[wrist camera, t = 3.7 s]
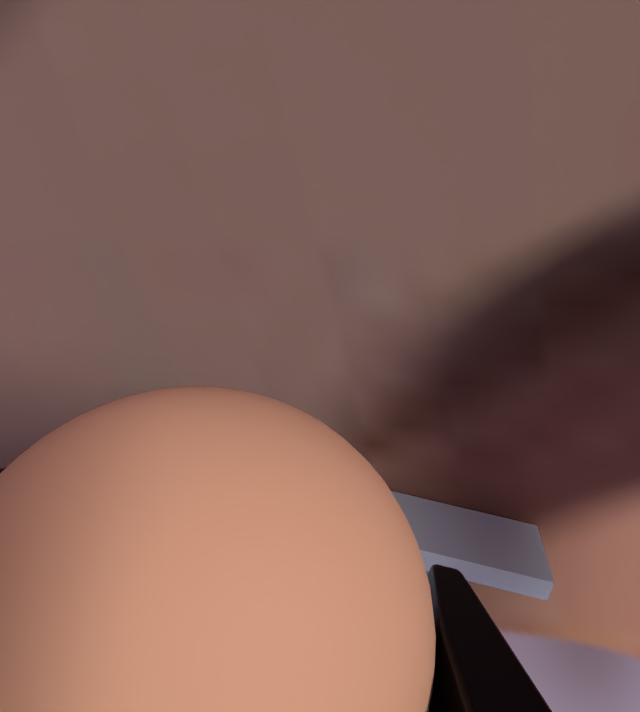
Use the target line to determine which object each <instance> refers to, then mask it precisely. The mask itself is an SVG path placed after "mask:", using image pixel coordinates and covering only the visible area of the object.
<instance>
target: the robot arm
mask: <svg viewBox="0 0 640 712" xmlns="http://www.w3.org/2000/svg"><path fill="white" fill-rule="evenodd" d="M4 469H5V468H3V469H0V473H1V472H2V471H3V470H4ZM427 577H428V581H429V584H430V590H431V598H432V606H433V615H434V624H435V634H436V645H435V668H434V682H433V692H432V697H431V702H430V707H429V712H552V711H551V709H550V708H549V706H548V705H547V703H546V702H545V700H544V699H543V697H542V695H541V694H540V692H539V691H538V690H537V688H536V686H535V685H534V683H533V682H532V680H531V679H530V677H529V675H528V674H527V672H526V671H525V669H524V668H523V666H522V665H521V663H520V662H519V660H518V659H517V657H516V656H515V654H514V652H513V651H512V649H511V648H510V646H509V645H508V643H507V642H506V640H505V639H504V637H503V636H502V634H501V632H500V631H499V629H498V628H497V626H496V625H495V623H494V622H493V620H492V619H491V617H490V616H489V614H488V613H487V611H486V609H485V608H484V606H483V605H482V603H481V602H480V600H479V599H478V597H477V596H476V594H475V593H474V591H473V589H472V588H471V586H470V585H469V583H468V582H467V580H466V579H465V577H464V576H463V574H462V573H461V572H460V571H459V570H457V569H454V568H450V567H446V566H442V565H438V564H435V565H433V566H432V567H431V568H430V570H429V573H428V576H427Z"/></svg>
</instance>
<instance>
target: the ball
mask: <svg viewBox="0 0 640 712" xmlns="http://www.w3.org/2000/svg"><path fill="white" fill-rule="evenodd" d="M435 645H436V634H435V624H434V615H433V606H432V598H431V590H430V584H429V581H428V577H427V573H426V570H425V566H424V562H423V559H422V556H421V553H420V550H419V546H418V543H417V540H416V538H415V536H414V534H413V531H412V529H411V527H410V525H409V522H408V520H407V518H406V516H405V514H404V512H403V511H402V509H401V507H400V505H399V504H398V502H397V500H396V499H395V497H394V496H393V494H392V492H391V491H390V489H389V488H388V486H387V484H386V483H385V481H384V480H383V479H382V478H381V476H380V475H379V474H378V473H377V471H376V470H375V469H374V468H373V467H372V465H371V464H370V463H369V462H368V461H367V460H366V459H365V458H364V457H363V456H362V455H361V454H360V453H359V452H358V451H357V450H356V449H355V448H354V447H352V446H351V445H350V444H349V443H348V442H347V441H346V440H345V439H344V438H343V437H342V436H340V435H339V434H337V433H336V432H335V431H333V430H332V429H331V428H329V427H328V426H327V425H325V424H324V423H322V422H321V421H319V420H317V419H316V418H314V417H312V416H310V415H309V414H307V413H305V412H303V411H302V410H300V409H297V408H295V407H293V406H290V405H288V404H286V403H283V402H281V401H279V400H276V399H273V398H269V397H266V396H263V395H259V394H256V393H252V392H247V391H241V390H235V389H229V388H221V387H202V386H186V387H173V388H164V389H159V390H154V391H150V392H145V393H140V394H136V395H131V396H127V397H123V398H120V399H117V400H115V401H112V402H109V403H107V404H104V405H101V406H99V407H97V408H94V409H92V410H90V411H88V412H85V413H83V414H81V415H79V416H77V417H75V418H74V419H72V420H70V421H68V422H66V423H65V424H63V425H61V426H59V427H58V428H56V429H55V430H53V431H52V432H50V433H49V434H47V435H46V436H44V437H43V438H41V439H40V440H38V441H37V442H36V443H34V444H33V445H32V446H31V447H29V448H28V449H27V450H26V451H24V452H23V453H22V454H21V455H19V456H18V457H17V458H16V459H15V460H14V461H13V462H12V463H11V464H10V465H8V466H7V467H6V468H5V469H4V470H3V471H2V472H1V473H0V712H429V707H430V702H431V697H432V692H433V682H434V668H435Z"/></svg>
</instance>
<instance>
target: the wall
mask: <svg viewBox="0 0 640 712" xmlns="http://www.w3.org/2000/svg"><path fill="white" fill-rule="evenodd" d="M391 492H392V494H393V496H394V497H395V499H396V500H397V502H398V504H399V505H400V507H401V509H402V511H403V512H404V514H405V516H406V518H407V520H408V522H409V525H410V527H411V529H412V531H413V534H414V536H415V538H416V540H417V543H418V546H419V550H420V553H421V556H422V559H423V562H424V566H425V570H426V571H429V570H430V568H431V567H432V566H433V565H435V564H438V565H442V566H446V567H450V568H454V569H457V570H459V571H460V572H461V573H462V574H463V576H464V577H465V579H466V580H467V581H469V582H473V583H477V584H481V585H485V586H489V587H493V588H498V589H502V590H506V591H510V592H514V593H518V594H522V595H526V596H530V597H534V598H538V599H542V600H546V601H547V599H548V597H549V594H550V592H551V590H552V587H553V585H554V579H553V576H552V573H551V570H550V566H549V563H548V560H547V557H546V553H545V550H544V547H543V544H542V540H541V537H540V534H539V531H538V527H537V525H533V524H529V523H525V522H521V521H516V520H512V519H508V518H504V517H499V516H495V515H491V514H487V513H483V512H478V511H474V510H470V509H466V508H461V507H457V506H453V505H449V504H445V503H440V502H436V501H432V500H428V499H423V498H419V497H415V496H411V495H407V494H402V493H398V492H394V491H391Z"/></svg>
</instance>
